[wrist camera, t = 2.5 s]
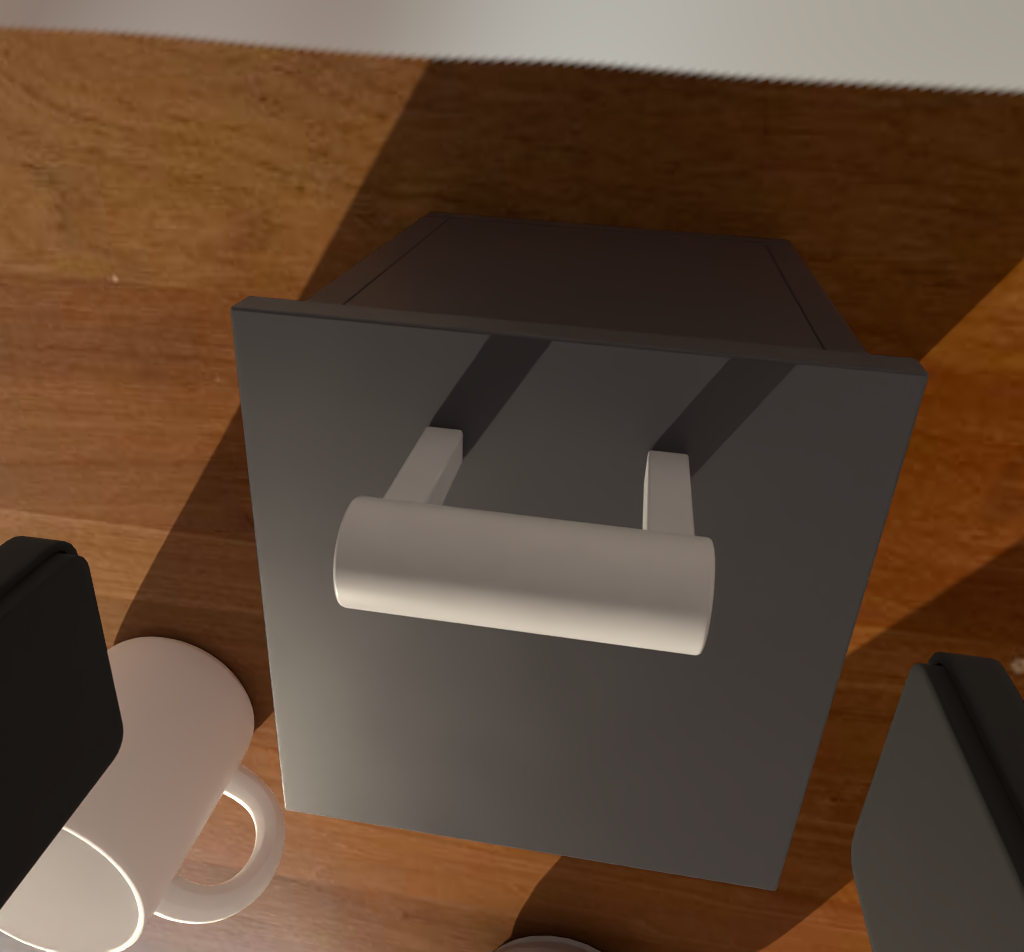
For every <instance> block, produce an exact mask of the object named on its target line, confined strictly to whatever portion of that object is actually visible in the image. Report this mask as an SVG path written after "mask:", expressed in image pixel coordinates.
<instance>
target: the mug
mask: <svg viewBox="0 0 1024 952" xmlns="http://www.w3.org/2000/svg"><path fill="white" fill-rule="evenodd" d="M107 652H108V657H109V662H110V666H111V671H112V676H113V680H114V685H115V690H116V694H117V699H118V704H119V708H120V713H121V718H122V722H123V730H124V733H123V740H122V744H121V747H120V750H119V752H118V754H117V756H116V757H115V759H114V761H113V762H112V763H111V764H110V766H109V767H108V768H107V770H106V771H105V772H104V774H103V775H102V776H101V778H100V779H99V780H98V782H97V783H96V784H95V786H94V787H93V788H92V790H91V791H90V792H89V794H88V795H87V796H86V797H85V799H84V800H83V801H82V803H81V804H80V805H79V807H78V808H77V809H76V811H75V812H74V813H73V815H72V816H71V817H70V819H69V820H68V821H67V823H66V824H65V825H64V826H63V828H62V829H61V830H60V832H59V833H58V834H57V836H56V837H55V838H54V840H53V841H52V842H51V844H50V845H49V846H48V848H47V849H46V850H45V852H44V853H43V854H42V856H41V857H40V858H39V859H38V861H37V862H36V863H35V865H34V866H33V867H32V869H31V870H30V871H29V873H28V874H27V875H26V877H25V878H24V879H23V881H22V882H21V883H20V885H19V886H18V887H17V889H16V890H15V891H14V892H13V894H12V895H11V896H10V898H9V899H8V900H7V902H6V903H5V904H4V906H3V907H2V908H1V910H0V931H2V932H3V933H5V934H7V935H9V936H11V937H13V938H15V939H17V940H19V941H21V942H23V943H26V944H28V945H31V946H33V947H36V948H39V949H42V950H45V951H48V952H120V951H122V950H125V949H126V948H128V947H129V946H130V945H132V944H133V943H134V942H135V941H136V940H137V939H138V938H139V937H140V936H141V934H142V932H143V931H144V929H145V927H146V925H147V924H148V922H149V920H150V919H151V917H152V915H153V914H155V915H158V916H160V917H163V918H165V919H169V920H172V921H177V922H182V923H191V924H202V923H212V922H215V921H219V920H223V919H226V918H228V917H230V916H232V915H234V914H236V913H238V912H240V911H241V910H243V909H244V908H246V907H247V906H248V905H250V904H251V903H253V902H254V901H255V900H256V899H257V898H258V897H259V896H260V895H261V894H262V893H263V891H264V890H265V889H266V887H267V886H268V885H269V883H270V882H271V880H272V879H273V877H274V875H275V873H276V871H277V869H278V866H279V863H280V861H281V858H282V855H283V851H284V845H285V836H286V827H285V820H284V815H283V812H282V809H281V805H280V804H279V802H278V800H277V798H276V796H275V794H274V793H273V791H272V790H271V789H270V787H269V786H268V785H267V784H266V783H265V782H264V781H263V780H262V779H261V778H260V777H259V776H258V775H256V774H255V773H254V772H252V771H251V770H250V769H248V768H247V767H245V766H243V765H242V764H241V761H242V759H243V757H244V756H245V754H246V752H247V750H248V748H249V745H250V742H251V739H252V736H253V731H254V713H253V708H252V705H251V702H250V699H249V697H248V695H247V693H246V691H245V689H244V687H243V686H242V684H241V683H240V681H239V680H238V679H237V677H236V676H235V675H234V674H233V673H232V672H231V671H230V670H229V669H228V668H227V667H226V666H225V665H224V664H223V663H222V662H220V661H219V660H218V659H217V658H215V657H214V656H212V655H211V654H209V653H208V652H206V651H204V650H202V649H200V648H198V647H196V646H193V645H191V644H189V643H186V642H183V641H179V640H175V639H171V638H163V637H139V638H134V639H130V640H126V641H123V642H121V643H119V644H117V645H115V646H113V647H112V648H110V649H109V650H107ZM223 794H225V795H227V796H229V797H231V798H232V799H234V800H236V801H237V802H239V803H240V804H241V805H242V806H243V807H245V808H246V809H247V810H248V812H249V813H250V814H251V816H252V818H253V820H254V823H255V827H256V842H255V846H254V850H253V852H252V855H251V857H250V858H249V860H248V862H247V864H246V865H245V866H244V867H243V869H242V870H241V871H240V872H239V873H238V874H237V875H236V876H234V877H233V878H231V879H230V880H227V881H225V882H223V883H219V884H215V885H204V884H198V883H195V882H192V881H190V880H187V879H185V878H184V877H182V876H180V875H178V873H177V872H178V870H179V868H180V867H181V865H182V863H183V862H184V860H185V858H186V857H187V855H188V853H189V852H190V850H191V848H192V846H193V845H194V843H195V841H196V839H197V838H198V836H199V834H200V833H201V831H202V829H203V827H204V826H205V824H206V822H207V820H208V819H209V817H210V815H211V814H212V812H213V810H214V808H215V807H216V805H217V803H218V802H219V800H220V798H221V796H222V795H223Z"/></svg>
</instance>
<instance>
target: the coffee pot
mask: <svg viewBox="0 0 1024 952" xmlns="http://www.w3.org/2000/svg"><path fill="white" fill-rule="evenodd" d="M493 952H600V951H598V950H596V949H594V948H593V947H591V946H589V945H587V944H584V943H581V942H578V941H575V940H571V939H568V938H562V937H555V936H529V937H525V938H520V939H516V940H513V941H511V942H509V943H507V944H505V945H503V946H501V947H500V948H499V949H497V950H495V951H493Z"/></svg>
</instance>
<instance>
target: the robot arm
mask: <svg viewBox="0 0 1024 952" xmlns="http://www.w3.org/2000/svg"><path fill="white" fill-rule="evenodd" d="M123 733H124V730H123V722H122V718H121V713H120V708H119V704H118V699H117V694H116V690H115V685H114V680H113V676H112V671H111V666H110V662H109V657H108V652H107V648H106V643H105V638H104V634H103V629H102V625H101V620H100V615H99V611H98V606H97V601H96V597H95V592H94V587H93V583H92V578H91V573H90V569H89V566H88V563H87V561H86V560H85V559H84V558H83V557H81V556H78V554H77V551H76V549H75V548H74V547H73V546H72V545H71V544H70V543H67V542H65V541H58V540H50V539H42V538H34V537H26V536H18V537H14V538H12V539H10V540H8V541H6V542H5V543H4V544H2V545H1V546H0V910H1V908H2V907H3V906H4V904H5V903H6V902H7V900H8V899H9V898H10V896H11V895H12V894H13V892H14V891H15V890H16V889H17V887H18V886H19V885H20V883H21V882H22V881H23V879H24V878H25V877H26V875H27V874H28V873H29V871H30V870H31V869H32V867H33V866H34V865H35V863H36V862H37V861H38V859H39V858H40V857H41V856H42V854H43V853H44V852H45V850H46V849H47V848H48V846H49V845H50V844H51V842H52V841H53V840H54V838H55V837H56V836H57V834H58V833H59V832H60V830H61V829H62V828H63V826H64V825H65V824H66V823H67V821H68V820H69V819H70V817H71V816H72V815H73V813H74V812H75V811H76V809H77V808H78V807H79V805H80V804H81V803H82V801H83V800H84V799H85V797H86V796H87V795H88V794H89V792H90V791H91V790H92V788H93V787H94V786H95V784H96V783H97V782H98V780H99V779H100V778H101V776H102V775H103V774H104V772H105V771H106V770H107V768H108V767H109V766H110V764H111V763H112V762H113V761H114V759H115V757H116V756H117V754H118V752H119V750H120V747H121V744H122V740H123ZM851 864H852V871H853V876H854V880H855V884H856V888H857V892H858V896H859V900H860V904H861V908H862V912H863V916H864V920H865V924H866V928H867V932H868V936H869V940H870V944H871V948H872V952H1024V701H1023V699H1022V697H1021V696H1020V694H1019V692H1018V690H1017V689H1016V687H1015V685H1014V684H1013V682H1012V680H1011V678H1010V677H1009V675H1008V673H1007V672H1006V670H1005V668H1004V667H1003V666H1002V664H1001V663H1000V662H999V661H997V660H995V659H992V658H984V657H977V656H969V655H961V654H953V653H945V652H938V653H934V655H933V656H932V657H931V658H930V659H929V661H928V663H927V664H922V663H917V664H914V665H913V666H912V668H911V669H910V672H909V674H908V677H907V680H906V683H905V685H904V688H903V691H902V694H901V697H900V700H899V703H898V706H897V709H896V712H895V715H894V718H893V721H892V724H891V727H890V729H889V732H888V735H887V738H886V741H885V744H884V747H883V750H882V753H881V756H880V759H879V762H878V765H877V768H876V771H875V774H874V776H873V779H872V782H871V785H870V788H869V791H868V794H867V797H866V800H865V803H864V806H863V809H862V812H861V815H860V818H859V820H858V823H857V826H856V829H855V832H854V835H853V839H852V846H851Z"/></svg>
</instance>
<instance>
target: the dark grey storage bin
mask: <svg viewBox="0 0 1024 952" xmlns="http://www.w3.org/2000/svg"><path fill="white" fill-rule="evenodd" d="M306 301H307V302H318V303H329V304H339V305H350V306H361V307H372V308H382V309H393V310H404V311H414V312H425V313H436V314H446V315H457V316H468V317H478V318H489V319H500V320H510V321H521V322H532V323H543V324H553V325H564V326H575V327H585V328H596V329H607V330H617V331H628V332H639V333H649V334H660V335H671V336H682V337H692V338H703V339H714V340H724V341H735V342H746V343H756V344H767V345H778V346H788V347H799V348H810V349H820V350H831V351H842V352H853V353H863V354H868V353H867V351H866V350H865V348H864V347H863V346H862V344H861V343H860V341H859V340H858V338H857V337H856V336H855V334H854V333H853V331H852V330H851V328H850V327H849V326H848V324H847V323H846V321H845V320H844V318H843V317H842V315H841V314H840V313H839V311H838V310H837V308H836V307H835V305H834V304H833V303H832V301H831V300H830V298H829V297H828V295H827V294H826V293H825V291H824V290H823V288H822V287H821V285H820V284H819V283H818V281H817V280H816V278H815V277H814V275H813V274H812V273H811V271H810V270H809V268H808V267H807V265H806V264H805V262H804V261H803V260H802V258H801V257H800V255H799V254H798V252H797V251H796V250H795V248H794V247H793V245H792V244H791V242H790V241H788V240H781V239H768V238H756V237H743V236H731V235H718V234H705V233H693V232H680V231H668V230H655V229H643V228H630V227H617V226H605V225H592V224H580V223H567V222H555V221H542V220H529V219H517V218H504V217H492V216H479V215H467V214H454V213H441V212H430V213H428V214H427V215H425V216H424V217H422V218H421V219H419V220H418V221H416V222H415V223H414V224H412V225H411V226H409V227H408V228H407V229H405V230H404V231H402V232H401V233H400V234H398V235H397V236H395V237H394V238H393V239H391V240H390V241H388V242H387V243H386V244H384V245H383V246H381V247H380V248H379V249H377V250H376V251H374V252H373V253H372V254H370V255H369V256H367V257H366V258H365V259H363V260H362V261H360V262H359V263H358V264H356V265H355V266H353V267H352V268H351V269H349V270H348V271H346V272H345V273H344V274H342V275H341V276H339V277H338V278H337V279H335V280H334V281H332V282H331V283H330V284H328V285H327V286H325V287H324V288H323V289H321V290H320V291H318V292H317V293H316V294H314V295H313V296H311V297H310V298H309V299H307V300H306Z"/></svg>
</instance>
